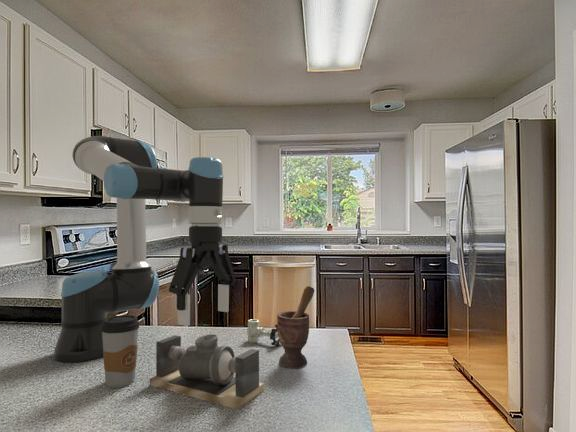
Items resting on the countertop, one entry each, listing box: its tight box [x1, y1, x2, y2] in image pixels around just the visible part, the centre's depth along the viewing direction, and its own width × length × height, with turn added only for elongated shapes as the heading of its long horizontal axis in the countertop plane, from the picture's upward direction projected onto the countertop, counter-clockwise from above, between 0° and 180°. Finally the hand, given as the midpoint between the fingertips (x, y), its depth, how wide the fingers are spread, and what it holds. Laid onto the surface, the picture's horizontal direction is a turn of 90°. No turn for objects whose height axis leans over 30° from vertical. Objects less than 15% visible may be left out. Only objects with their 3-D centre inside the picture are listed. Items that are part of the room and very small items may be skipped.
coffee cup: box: [101, 314, 140, 389], centre depth 90 cm, size 8×8×15 cm
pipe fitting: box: [179, 334, 236, 385], centre depth 87 cm, size 12×8×10 cm
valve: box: [246, 318, 281, 347], centre depth 120 cm, size 7×7×12 cm
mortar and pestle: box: [276, 285, 315, 369], centre depth 103 cm, size 12×9×20 cm
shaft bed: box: [149, 335, 265, 410], centre depth 87 cm, size 25×10×10 cm, turn 62°
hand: (204, 317), depth 87 cm, fingers open, 13 cm apart
